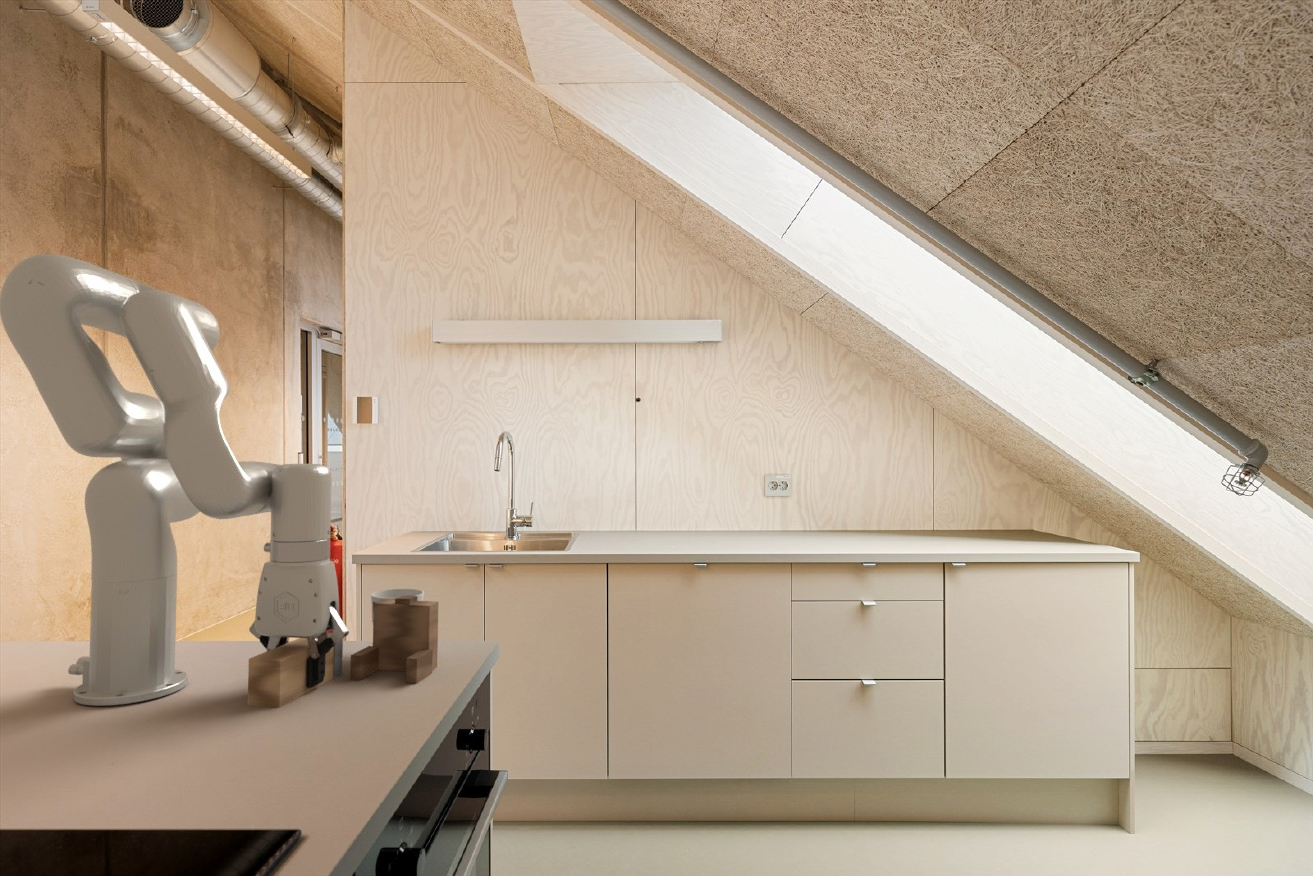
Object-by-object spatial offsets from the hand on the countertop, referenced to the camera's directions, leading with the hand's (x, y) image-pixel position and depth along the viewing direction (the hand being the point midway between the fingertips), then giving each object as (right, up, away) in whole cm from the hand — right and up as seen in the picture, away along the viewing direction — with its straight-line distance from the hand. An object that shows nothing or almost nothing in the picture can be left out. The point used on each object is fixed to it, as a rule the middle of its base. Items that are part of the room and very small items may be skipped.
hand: (297, 682), depth 101 cm
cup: (+8, -1, +17) cm, 19 cm away
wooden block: (0, -1, 0) cm, 1 cm away
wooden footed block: (+11, -1, +8) cm, 13 cm away
